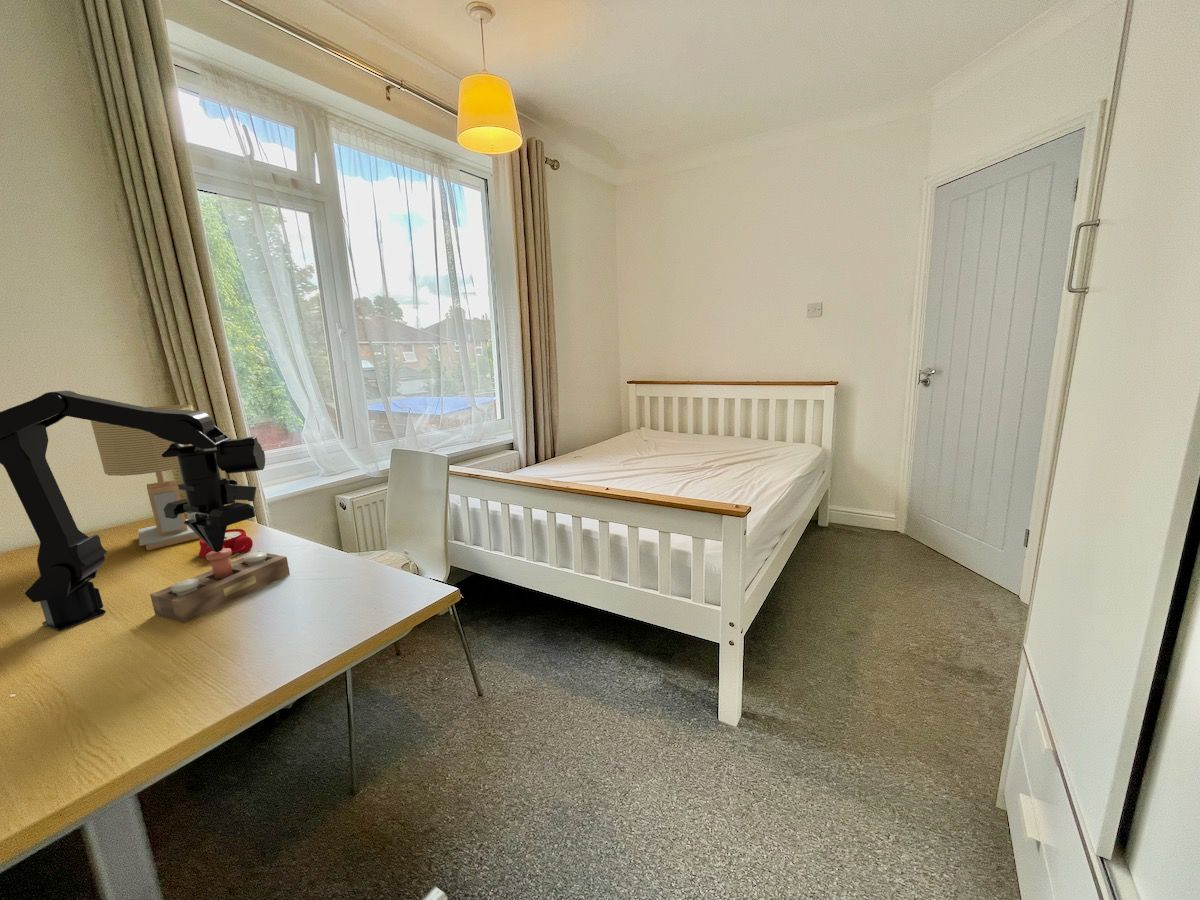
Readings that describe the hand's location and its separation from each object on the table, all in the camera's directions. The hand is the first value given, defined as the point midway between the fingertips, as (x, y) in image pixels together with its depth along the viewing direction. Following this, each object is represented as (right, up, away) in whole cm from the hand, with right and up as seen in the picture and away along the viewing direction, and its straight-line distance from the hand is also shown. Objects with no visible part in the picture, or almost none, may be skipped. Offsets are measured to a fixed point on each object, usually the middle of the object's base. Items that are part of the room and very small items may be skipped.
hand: (218, 551), depth 95 cm
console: (0, -9, +2) cm, 9 cm away
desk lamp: (-40, -4, +35) cm, 53 cm away
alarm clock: (-17, -6, +24) cm, 29 cm away
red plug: (0, -5, +1) cm, 5 cm away
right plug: (+3, -7, +8) cm, 11 cm away
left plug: (-2, -10, -4) cm, 11 cm away
